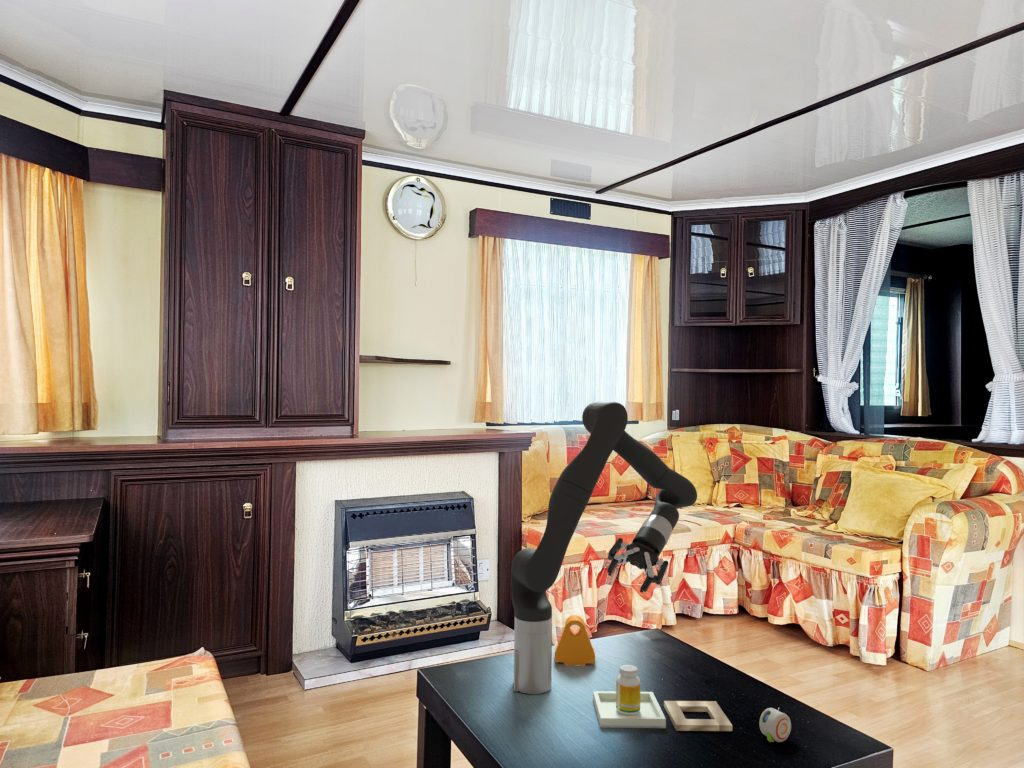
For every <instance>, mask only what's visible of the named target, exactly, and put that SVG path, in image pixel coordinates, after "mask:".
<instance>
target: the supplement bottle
mask: <svg viewBox="0 0 1024 768" xmlns="http://www.w3.org/2000/svg"><path fill="white" fill-rule="evenodd" d="M638 673H639V671H638V666H636V665H631V664H622V665H620V666H619V675H617V677H616V681H615V682H616V685H615V687H616V689H615V690H616V710H617V711H618V712H619V713H621V714H624V715H636V714H638V713H639V712H640V692H641V679H640V678H639V676H638Z"/></svg>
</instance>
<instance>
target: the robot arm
mask: <svg viewBox="0 0 1024 768" xmlns="http://www.w3.org/2000/svg"><path fill="white" fill-rule="evenodd" d="M628 418H629V417H628V411H627V409H626V408H625V406H624V405H623V404H622V403H620V402H617V401H604V400H603V401H595V402H594V401H593V402H591V403H589V404H587V406H585V408H584V410H583V412H582V416H581V419H582V425H583V426H584V428H585V430H586V431H587V432H589V438H588V440H587V441H586V443H585V445H584V446H583V448H582V449H581V450H580V452H579V453H578V454H577V455H576V456H575V457H574V458H573V459H572V460H571V461H570V462H569V463H568V464H567V465H566V466H565V468H564V469H563V471H561V473H560V474H559V477H558V479H557V481H556V482H555V485H554V487H553V489H552V492H551V494H550V497H549V499H548V500H549V501H548V507H547V519H546V525H545V529H544V531H543V532H544V533H543V535H542V536H541V539H540V541H539V543H538V545H537V548H535V549H534V548H531V547H527V548H523V549H521V550H519V551H518V552H517V553H516V554H515V556H514V558H513V559H512V562H511V568H510V586H511V589H510V590H511V591H510V593H511V601H512V606H513V608H514V609H513V610H514V628H513V629H514V633H513V634H514V635H513V636H514V639H513V641H514V642H513V692H518V691H520V692H519V693H523V694H526V693H527V694H528V695H539V694H544V693H547V692H549V691H550V690H551V689H552V679H553V678H552V665H553V664H552V663H553V662H552V659H553V658H552V654H553V651H552V648H553V642H552V641H553V639H552V638H553V632H552V631H553V630H552V629H553V606H552V604H551V602H550V601H549V597H548V596H547V591H548V590H549V589H550V588H551V587H552V586H553V585H554V584H555V582H556V580H557V579H558V577H559V573H560V571H561V568H562V565H563V561H564V559H565V556H566V553H567V550H568V547H569V545H570V543H571V540H572V538H573V537H574V534H575V531H576V528H577V526H578V524H579V522H580V519H581V517H582V515H583V513H584V512H585V510H586V508H587V506H588V503H589V501H590V500H591V497H592V494H594V489H595V487H596V485H597V483H598V481H599V478H600V477H601V475H602V472H603V471H604V469H605V466H606V464H607V462H608V460H609V458H610V457H611V454H612V452H615V454H617V455H619V456H620V458H622V459H623V460H624V461H625V462H626V463H627V464H628V465H630V466H631V468H632V469H633V470H635V472H636V473H637V474H638V475H639V476H640V477H641V478H642V479H643V480H644V481H645V482H646V483H647V484H648V485H649V486H650V487H651V488H653V489H655V490H656V489H657V490H658V491H657V493H656V497H655V501H654V507H653V509H652V510H651V512H650V513H649V515H648V517H647V518H645V520H644V521H643V523H642V524H641V526H640V527H639V529H638V531H637V533H636V534H635V536H634V537H633V539H632V541H631V542H629V543H626V542H625V541H624V539H623V538H622V537H619V538H617V540H616V541H615V542H614V544H613V545H612V547H611V548H610V549H609V550H608V554H607V559H608V560H609V561H610V563H609V565H608V567H607V570H606V571H607V573H608V574H607V575H608V576H609V577H612V575H613V574H614V573H615V570H616V569H617V567H618V566H619V565H621V564H622V565H624V564H627V563H629V564H630V565H632V566H634V567H637V568H638V569H640V570H644V573H645V574H644V575H645V576H646V577H645V580H644V581H643V583H642V584H641V586H640V589H639V592H640V593H642V594H643V593H647V592H648V590H649V588H650V586H651V584H655V585H657V586H658V585H659V586H660V585H661V583H662V581H663V579H664V576H665V574H666V572H667V571H668V567H669V561H668V560H664V561H663V560H660V559H659V556H660V555H661V554H662V551H663V550H664V548H665V546H666V545H667V544H668V542H669V540H670V537H671V535H672V532H673V530H674V528H676V525H677V523H678V522H679V518H680V513H679V511H678V509H682V508H688V507H691V506H693V505H694V504H695V503H696V502H697V501H698V500H697V499H698V491H697V489H696V487H695V485H694V484H693V482H692V481H690V480H689V479H688V478H686V477H685V476H683V475H682V474H680V473H679V472H677V471H676V470H674V469H671V468H670V467H669V466H668V465H667V464H666V463H665V462H664V461H663V459H661V457H660V456H658V455H657V453H655V452H654V451H653V450H651V449H650V448H649V447H647V446H646V445H644V444H643V443H641V442H640V441H639V440H637V439H636V438H634V437H633V436H631V434H629V433H628V432H627V431H626V428H627V425H628V421H629V420H628ZM624 549H625V551H622V550H624ZM619 551H622V552H621V553H619V554H618V552H619ZM654 566H657V567H658V570H659V571H658V573H657V575H656V574H654V570H653V567H654ZM527 694H526V695H527Z"/></svg>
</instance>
